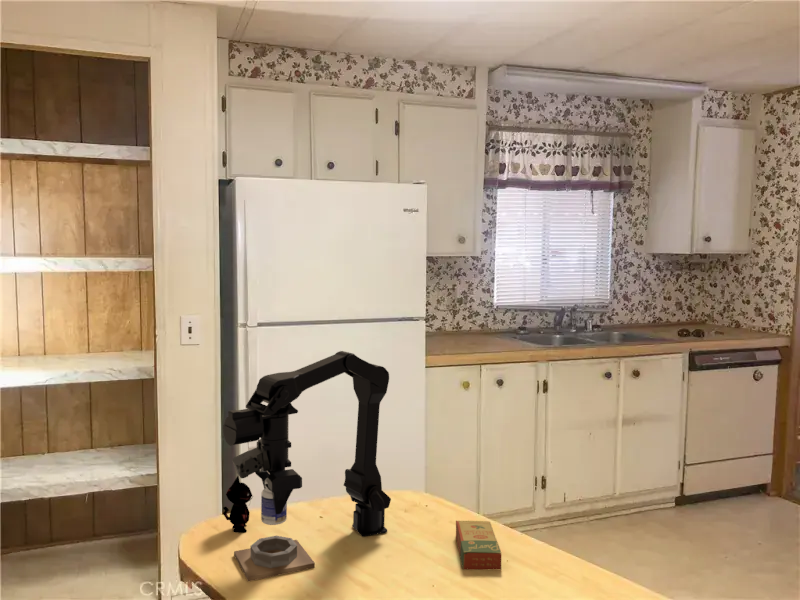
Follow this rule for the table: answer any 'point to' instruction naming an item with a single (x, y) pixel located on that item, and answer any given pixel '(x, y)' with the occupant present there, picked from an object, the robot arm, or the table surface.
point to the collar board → (273, 558)
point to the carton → (477, 545)
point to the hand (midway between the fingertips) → (274, 508)
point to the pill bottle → (271, 509)
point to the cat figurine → (238, 505)
